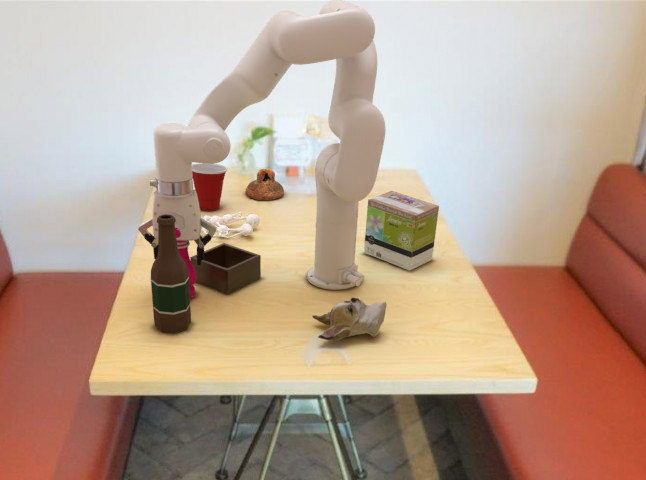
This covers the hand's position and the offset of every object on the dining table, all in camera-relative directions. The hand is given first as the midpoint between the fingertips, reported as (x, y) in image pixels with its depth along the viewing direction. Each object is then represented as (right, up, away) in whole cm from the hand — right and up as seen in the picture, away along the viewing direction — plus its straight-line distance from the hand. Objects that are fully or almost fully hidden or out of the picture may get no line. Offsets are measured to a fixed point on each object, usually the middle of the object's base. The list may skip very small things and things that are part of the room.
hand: (179, 262), depth 178 cm
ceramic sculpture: (+37, -17, -10) cm, 42 cm away
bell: (+16, +31, +64) cm, 73 cm away
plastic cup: (+1, +25, +53) cm, 59 cm away
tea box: (+52, +5, +26) cm, 58 cm away
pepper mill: (0, -7, +4) cm, 8 cm away
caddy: (+9, -2, +12) cm, 15 cm away
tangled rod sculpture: (+6, +14, +37) cm, 40 cm away
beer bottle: (0, -15, -8) cm, 17 cm away
